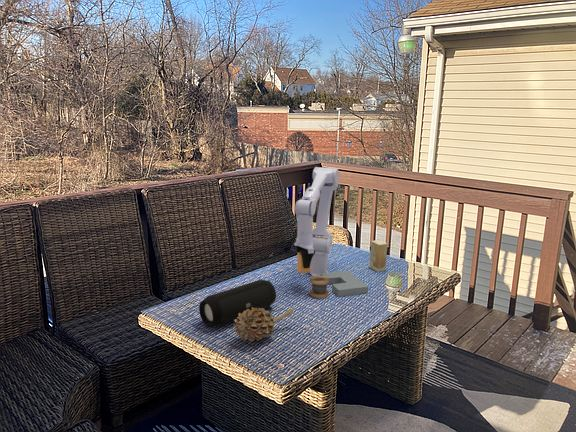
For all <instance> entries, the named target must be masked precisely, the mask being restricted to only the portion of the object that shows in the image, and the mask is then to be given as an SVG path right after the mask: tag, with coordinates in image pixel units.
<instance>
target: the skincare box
mask: <svg viewBox="0 0 576 432" xmlns="http://www.w3.org/2000/svg"><path fill="white" fill-rule="evenodd" d="M370 243H371V244H370V254H369V268H370V269H372V270H373V271H376V272H377V273H378V272H385V271H386V268H387V267H386V266H387V255H388V254H387V253H388V245H389V244H388V243H387V242H385V241H382V240H380V239H377V240H371V242H370Z"/></svg>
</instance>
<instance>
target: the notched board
mask: <svg viewBox="0 0 576 432" xmlns="http://www.w3.org/2000/svg"><path fill="white" fill-rule="evenodd" d="M328 272H329V273H320V276H325V277H328V278H329V283H328V284H327V285H331V286H332V287H331V291H332V292H333V293H334V294H335V295H336V296H337V297H346V296H354V295H362V294H363V293H364V294H369V285H367V284H366V283H364V282H363V281H362V280H361V279H360V278H358V277H357V276H355V275H354V274H353V273H352V272H350V271H349V270H340V271H331V272H330V271H328Z"/></svg>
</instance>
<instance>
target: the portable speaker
mask: <svg viewBox="0 0 576 432" xmlns="http://www.w3.org/2000/svg"><path fill="white" fill-rule="evenodd" d="M276 298H277V291H276V289H275V286H274V284H273V283H272V282H271V281H269V280H268V279H258V280H255V281H251V282H248V283H245V284H242V285H240V286H236V287H232V288H228V289H227V290H223V291H219V292H216V293H214V294H209V295H208V296H206V297H205V298H204V299H203V300H201V301H200V303H199V305H198V308H199V309H198V310H199V315H200V318H201V320H202V322H203V323H204V324H205V326H207V327H220V326H223V325H224V324H227V323H230V322H233V321H234V320H235V319H237V317H239V313H243V312H244V311H246V310H247V309H249V310H251V309H252V307H253V308H257V310H258V309H259V308H260V309H262V308H263V309H267V308H269V307H271V306H272V305H273V304H274V303H275V301H276Z"/></svg>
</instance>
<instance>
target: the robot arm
mask: <svg viewBox="0 0 576 432" xmlns="http://www.w3.org/2000/svg"><path fill="white" fill-rule="evenodd" d="M339 171H340V170H339V169H338V168H337V167H335V168H334V167H320V166H319V167H318V166H315V167H314V168H313V170H312V180H313V181H312V182H311V183H312V184H311V186H309V187H307V188H306V190H305V192H304V193H303V196H302V197H301V199H299V200H297V201H296V202H295V205H294V206H295V207H294V213H295V215H296V216H295V218H296V220H297V227H296V228H297V229H296V230H297V231H296V232H297V235H296V236H297V237H296V240H295V242H294V243H293V245H294V249H295V251H296V253H297V252H300V253H301V256H302V261H303V267H304V268H309V267H310V264H311V272H309V273H308V274H310V276H311V277H313V276H320V273H329V272H330V271H329V270H328V261H329V260H328V259H329V256H328V254H329V253H331V251H332V249H333V239H334V238H333V235H332V233H331V232H330V231H329V230H328V224H329V217H330V212H331V211H330V210H331V204H332V197H333V193H334V191H336V190H337V189H338V186H339V180H340V172H339ZM318 201H319V203H318ZM317 203H318V208H317ZM316 208H317V209H318V210H317V214H316ZM315 214H316V215H317V216H316V221H315V228H314V225H313V224H314V215H315Z"/></svg>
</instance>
